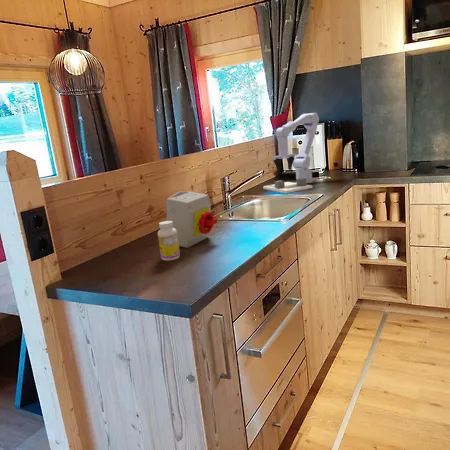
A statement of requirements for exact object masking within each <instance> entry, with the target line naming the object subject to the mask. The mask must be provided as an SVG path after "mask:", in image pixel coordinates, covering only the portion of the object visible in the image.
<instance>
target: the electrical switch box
mask: <svg viewBox="0 0 450 450" xmlns="http://www.w3.org/2000/svg"><path fill="white" fill-rule="evenodd" d="M165 201H166V203H165V204H166V208H165V209H166V221H172V222H173V228H175V229H176V230H177V236H178V243H179V247H182V248H186V249H187V248H190V247H192V246H193V245H196V244H198V243H200V242H202V241H203V240H206V239H207V238H209V235H210V233H211V231H212V229H213V228H214V225H215V224H218V218H215V217H214V214H212V209H211V208H212V203H211V200H210V197H209V194H205V193H200V192H196V191H195V192H194V191H189V190H188V191H177V192H175V193H174V194H172V195H171V196H169V197H168V198H166V200H165Z"/></svg>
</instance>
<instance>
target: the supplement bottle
mask: <svg viewBox="0 0 450 450" xmlns="http://www.w3.org/2000/svg"><path fill="white" fill-rule="evenodd" d="M158 225H159V226H158V227H159V228H160V229H159V230H158V231H157V238H158V239H157V240H158V246H159V247H158V248H159V253H160V258H161V260H162V261H166V262H167V261H168V262H170V261H175V260H177V259H179V258H180V257H181V251H180V246H179V243H178V236H177V230H176V229H175V228H173V222H172V221H167V220H165V221H160V222H159V223H158Z"/></svg>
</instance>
